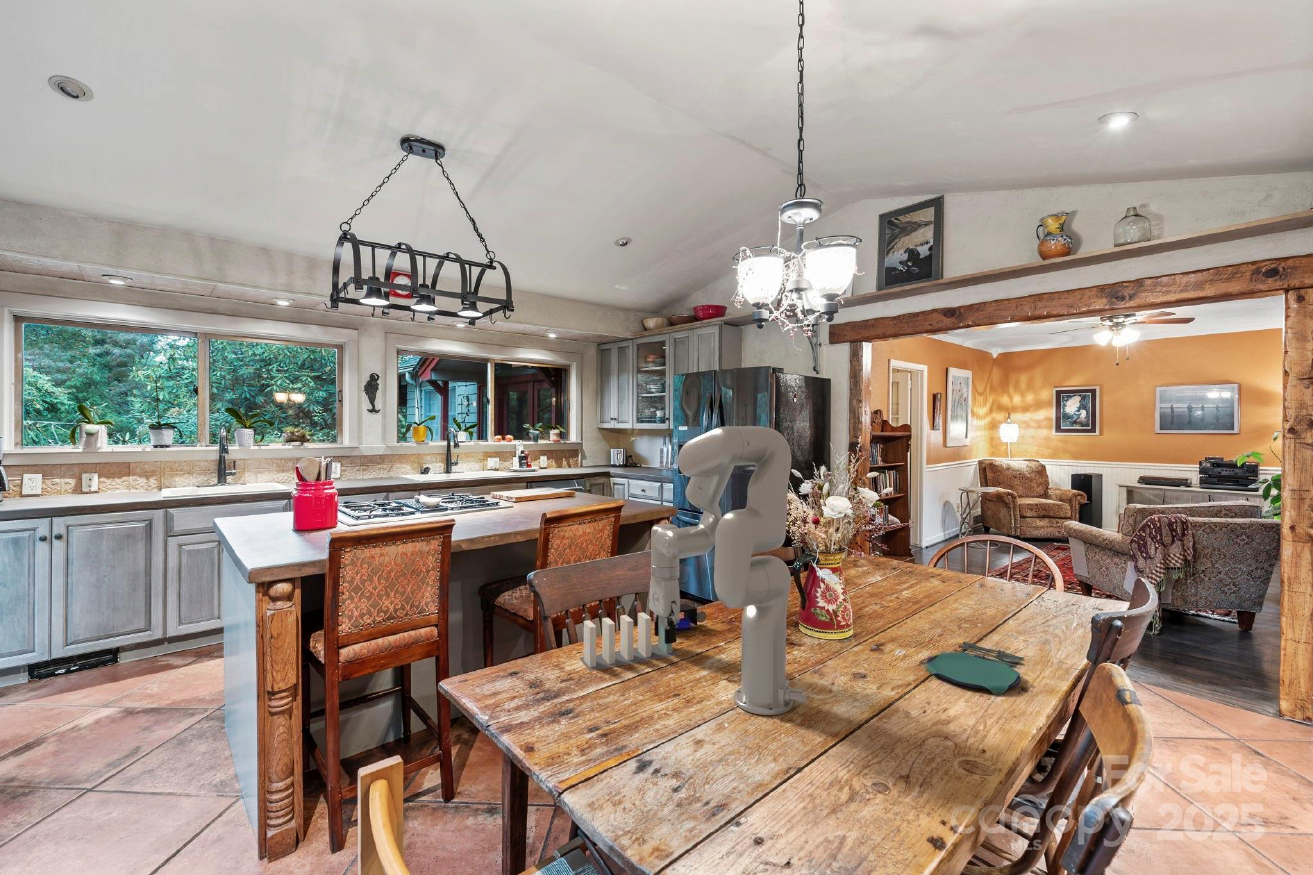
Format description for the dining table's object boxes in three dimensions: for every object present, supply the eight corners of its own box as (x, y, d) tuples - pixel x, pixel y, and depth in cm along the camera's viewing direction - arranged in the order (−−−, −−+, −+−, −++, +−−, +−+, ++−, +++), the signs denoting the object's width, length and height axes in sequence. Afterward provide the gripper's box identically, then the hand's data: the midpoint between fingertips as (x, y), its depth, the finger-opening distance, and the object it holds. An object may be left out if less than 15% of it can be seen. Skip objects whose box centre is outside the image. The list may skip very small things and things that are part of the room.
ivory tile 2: (626, 652, 153) (626, 614, 152) (633, 659, 148) (633, 620, 148) (620, 653, 152) (620, 615, 152) (627, 660, 147) (627, 621, 147)
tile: (663, 646, 157) (663, 609, 157) (672, 652, 153) (671, 614, 152) (658, 647, 156) (658, 610, 156) (666, 653, 152) (666, 615, 152)
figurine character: (691, 627, 178) (650, 631, 169) (694, 601, 178) (653, 604, 170) (705, 633, 172) (664, 638, 164) (708, 607, 173) (666, 610, 164)
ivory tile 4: (589, 659, 148) (589, 620, 148) (596, 666, 144) (596, 626, 144) (583, 660, 148) (583, 621, 148) (590, 667, 143) (589, 627, 143)
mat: (663, 644, 159) (663, 643, 159) (677, 656, 151) (677, 654, 151) (578, 659, 149) (578, 657, 149) (589, 672, 141) (589, 671, 141)
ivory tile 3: (608, 655, 150) (608, 617, 150) (614, 662, 146) (614, 623, 146) (602, 656, 150) (602, 618, 150) (608, 664, 145) (608, 624, 145)
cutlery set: (913, 677, 140) (913, 667, 140) (956, 644, 161) (956, 636, 161) (1007, 705, 125) (1007, 694, 125) (1040, 665, 147) (1040, 656, 147)
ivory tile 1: (643, 649, 155) (643, 612, 155) (651, 656, 150) (651, 617, 150) (637, 650, 154) (637, 613, 154) (645, 657, 150) (645, 618, 149)
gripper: (639, 565, 161) (639, 630, 161) (666, 580, 145) (666, 652, 145) (663, 563, 164) (664, 627, 164) (693, 577, 148) (693, 647, 148)
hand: (665, 638), depth 155 cm, fingers open, 5 cm apart
